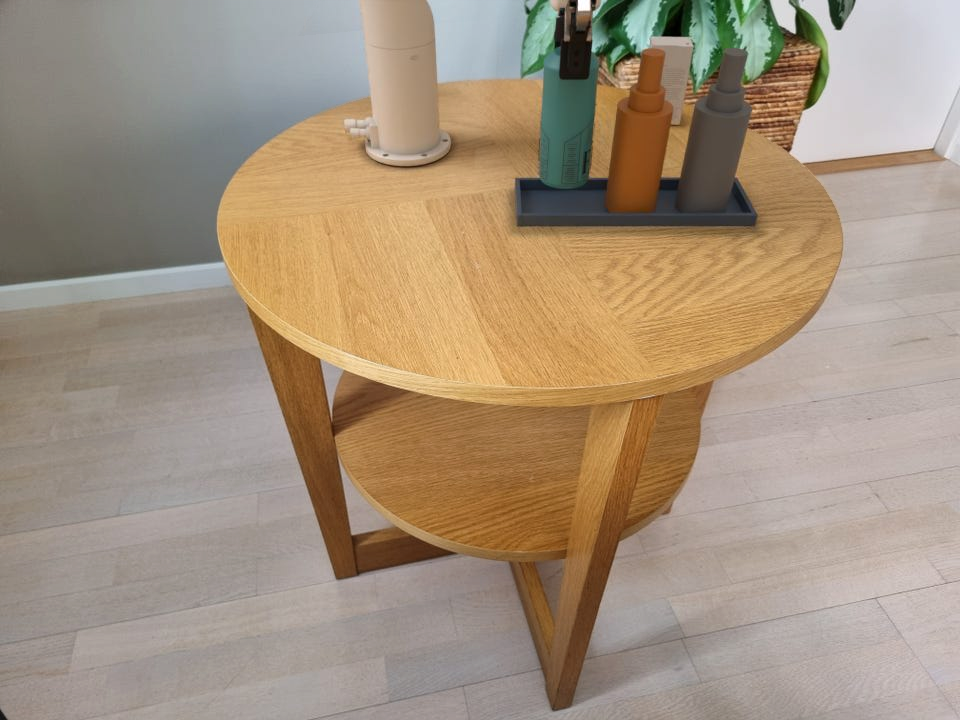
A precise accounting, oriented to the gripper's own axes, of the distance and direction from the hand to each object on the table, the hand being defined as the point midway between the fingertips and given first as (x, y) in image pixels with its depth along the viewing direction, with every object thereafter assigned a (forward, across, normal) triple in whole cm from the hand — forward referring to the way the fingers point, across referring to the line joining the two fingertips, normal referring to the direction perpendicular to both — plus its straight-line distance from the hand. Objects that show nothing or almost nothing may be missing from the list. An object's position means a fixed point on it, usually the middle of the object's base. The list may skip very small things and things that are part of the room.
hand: (570, 65), depth 78 cm
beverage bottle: (+15, 0, 0) cm, 15 cm away
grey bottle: (+18, 0, +18) cm, 25 cm away
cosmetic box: (+19, -28, +18) cm, 39 cm away
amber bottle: (+18, 0, +9) cm, 20 cm away
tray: (+18, 0, +9) cm, 21 cm away
